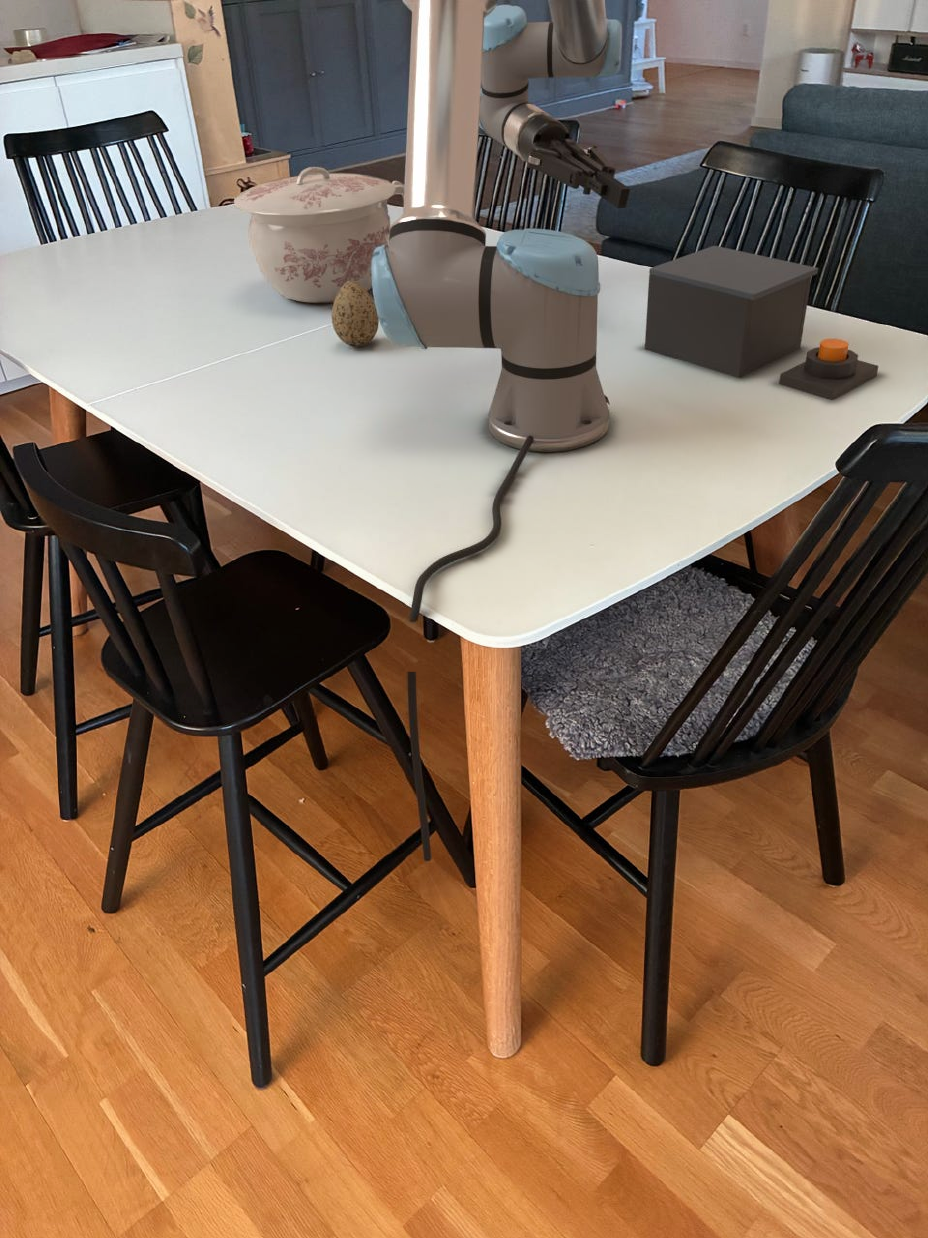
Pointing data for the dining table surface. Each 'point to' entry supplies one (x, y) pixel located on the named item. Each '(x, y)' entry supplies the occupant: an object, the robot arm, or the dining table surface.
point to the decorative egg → (354, 315)
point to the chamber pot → (318, 230)
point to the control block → (828, 375)
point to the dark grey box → (724, 325)
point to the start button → (833, 350)
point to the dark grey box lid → (734, 272)
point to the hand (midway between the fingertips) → (623, 198)
